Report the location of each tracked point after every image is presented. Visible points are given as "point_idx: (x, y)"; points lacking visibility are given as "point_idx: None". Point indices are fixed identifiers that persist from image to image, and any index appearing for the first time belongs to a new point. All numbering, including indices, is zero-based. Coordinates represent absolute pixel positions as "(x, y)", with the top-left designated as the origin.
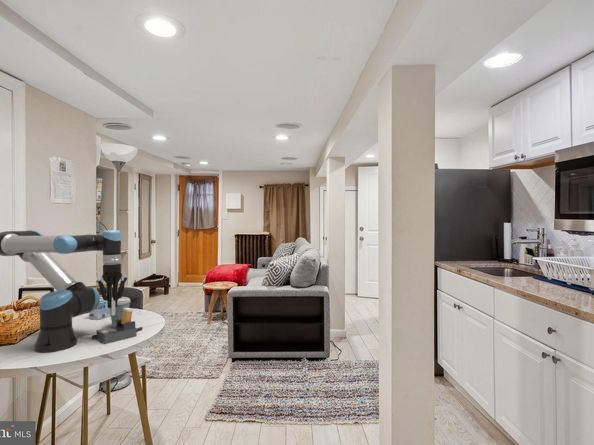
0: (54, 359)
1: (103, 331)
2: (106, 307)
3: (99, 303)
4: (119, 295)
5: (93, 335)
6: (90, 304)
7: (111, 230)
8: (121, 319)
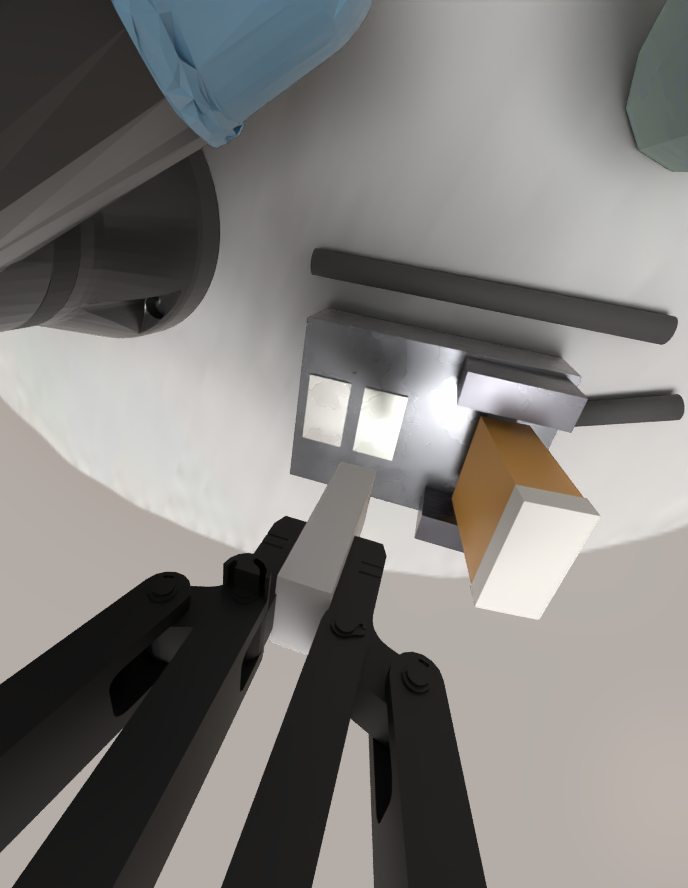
0: (87, 429)
1: (318, 407)
2: None
3: None
4: (371, 768)
5: (319, 267)
6: (121, 183)
7: None
8: (487, 434)
